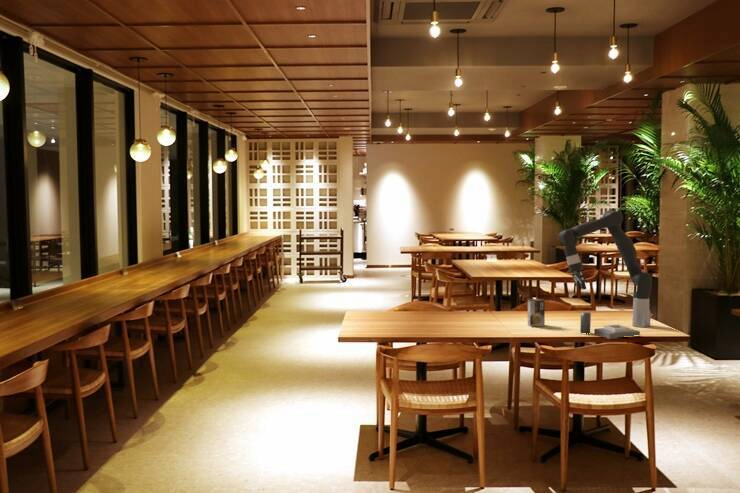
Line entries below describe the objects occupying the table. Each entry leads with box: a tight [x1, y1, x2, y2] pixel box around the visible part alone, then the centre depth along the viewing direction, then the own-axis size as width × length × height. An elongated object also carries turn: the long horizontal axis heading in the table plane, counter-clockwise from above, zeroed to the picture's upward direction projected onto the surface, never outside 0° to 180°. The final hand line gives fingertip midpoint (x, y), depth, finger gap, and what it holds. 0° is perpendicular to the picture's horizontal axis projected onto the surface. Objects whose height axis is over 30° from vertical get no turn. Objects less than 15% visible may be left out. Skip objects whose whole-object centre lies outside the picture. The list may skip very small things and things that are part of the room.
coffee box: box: [527, 298, 546, 327], centre depth 423 cm, size 9×6×16 cm
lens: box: [579, 311, 592, 335], centre depth 401 cm, size 6×6×12 cm
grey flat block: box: [593, 323, 641, 340], centre depth 396 cm, size 20×14×5 cm
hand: (582, 289), depth 406 cm, fingers open, 8 cm apart
